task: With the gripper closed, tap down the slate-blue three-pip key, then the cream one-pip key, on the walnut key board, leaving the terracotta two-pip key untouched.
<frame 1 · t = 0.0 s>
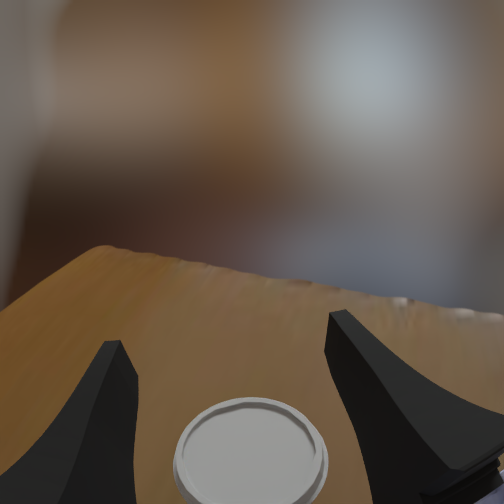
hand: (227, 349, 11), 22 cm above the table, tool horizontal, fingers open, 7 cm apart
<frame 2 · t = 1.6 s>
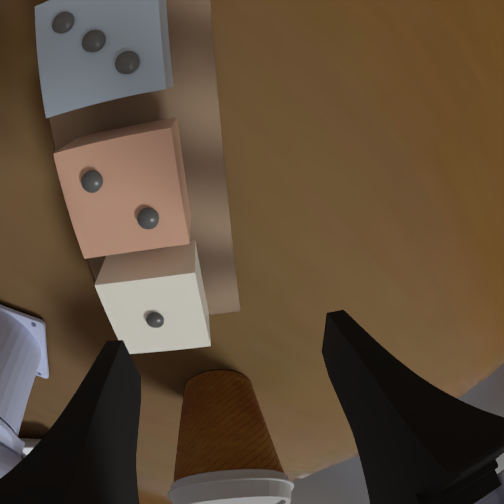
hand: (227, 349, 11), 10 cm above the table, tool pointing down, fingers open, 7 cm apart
key three: (105, 43, 10), point 4 cm above the table, slide at 0.0 cm
key board: (141, 163, 16), on the table
disposable coffee cup: (218, 387, 28), on the table
key one: (157, 301, 17), point 4 cm above the table, slide at 0.0 cm
key two: (127, 187, 13), point 4 cm above the table, slide at 0.0 cm
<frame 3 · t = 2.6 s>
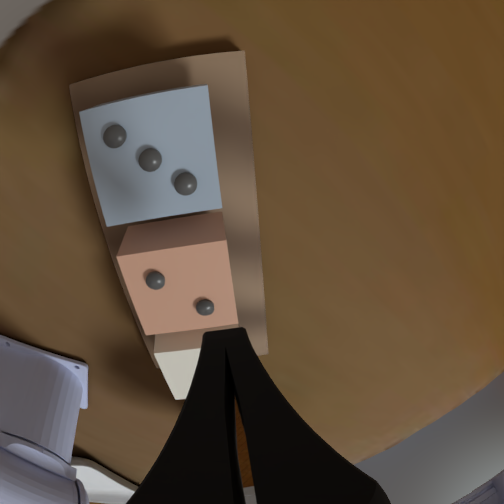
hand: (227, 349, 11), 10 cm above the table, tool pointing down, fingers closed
key three: (155, 150, 13), point 4 cm above the table, slide at 0.0 cm
key board: (184, 239, 19), on the table
salad plate: (81, 471, 40), on the table
disposable coffee cup: (243, 410, 31), on the table
key one: (203, 357, 20), point 4 cm above the table, slide at 0.0 cm
key two: (181, 276, 16), point 4 cm above the table, slide at 0.0 cm
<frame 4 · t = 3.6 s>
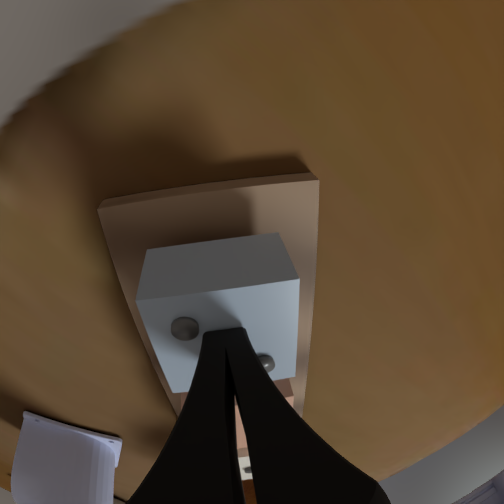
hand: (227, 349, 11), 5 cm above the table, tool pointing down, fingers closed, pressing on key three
key three: (223, 319, 12), point 4 cm above the table, slide at 0.0 cm, touching gripper
key board: (231, 353, 19), on the table
disposable coffee cup: (267, 463, 30), on the table
key one: (248, 451, 19), point 4 cm above the table, slide at 0.0 cm
key two: (238, 406, 15), point 4 cm above the table, slide at 0.0 cm
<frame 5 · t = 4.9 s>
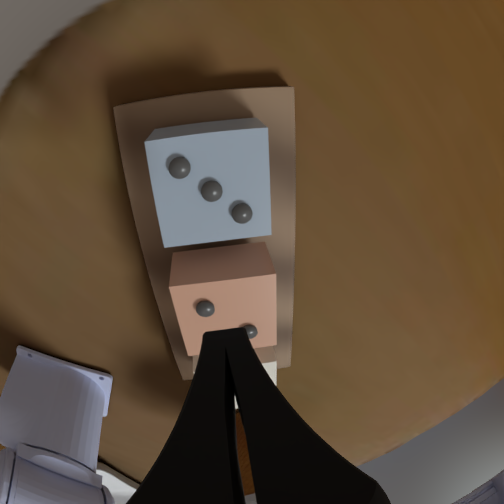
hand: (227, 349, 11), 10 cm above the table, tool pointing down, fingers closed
key three: (210, 179, 15), point 3 cm above the table, slide at 1.0 cm
key board: (221, 262, 20), on the table
salad plate: (89, 473, 40), on the table
disposable coffee cup: (258, 417, 32), on the table
key one: (235, 373, 21), point 4 cm above the table, slide at 0.0 cm
key two: (225, 301, 17), point 4 cm above the table, slide at 0.0 cm
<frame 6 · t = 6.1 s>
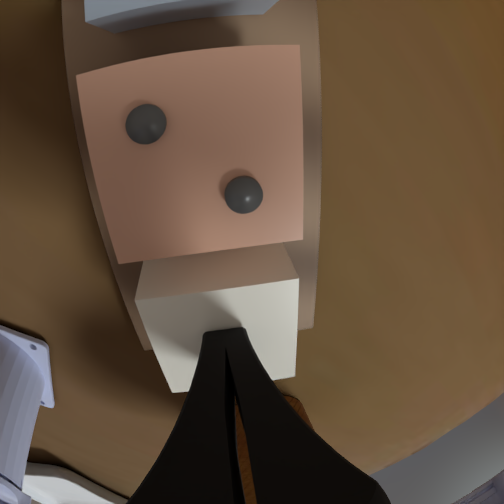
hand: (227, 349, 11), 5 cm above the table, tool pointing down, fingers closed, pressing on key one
key board: (198, 124, 11), on the table
salad plate: (61, 480, 31), on the table
disposable coffee cup: (263, 413, 23), on the table
key one: (222, 319, 12), point 4 cm above the table, slide at 0.3 cm, touching gripper
key two: (196, 145, 8), point 4 cm above the table, slide at 0.0 cm
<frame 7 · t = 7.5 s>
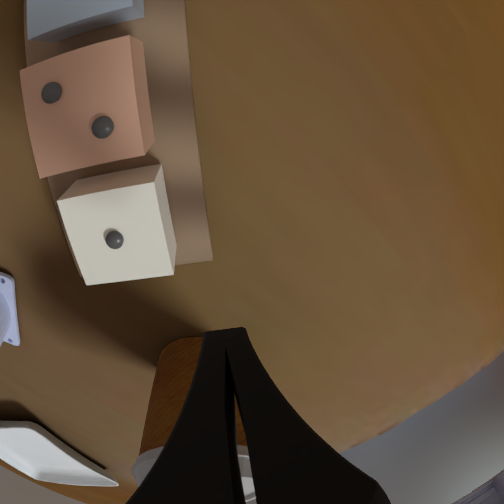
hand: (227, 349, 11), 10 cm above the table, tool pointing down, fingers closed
key board: (110, 97, 15), on the table
salad plate: (36, 443, 35), on the table
disposable coffee cup: (196, 359, 26), on the table
key one: (120, 225, 16), point 3 cm above the table, slide at 1.0 cm
key two: (88, 105, 11), point 4 cm above the table, slide at 0.0 cm
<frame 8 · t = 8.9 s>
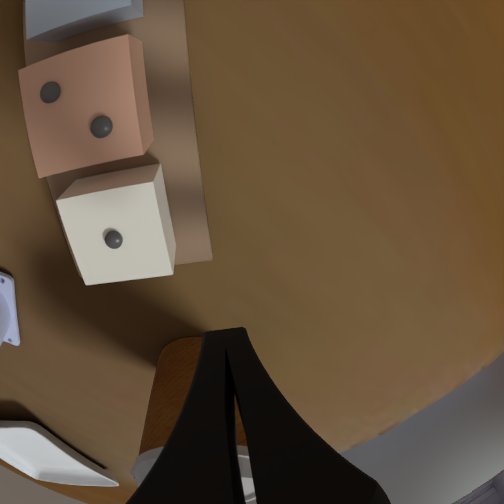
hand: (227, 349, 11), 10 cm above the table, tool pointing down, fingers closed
key board: (109, 97, 15), on the table
salad plate: (36, 443, 35), on the table
disposable coffee cup: (196, 359, 26), on the table
key one: (120, 225, 16), point 3 cm above the table, slide at 1.0 cm
key two: (87, 104, 11), point 4 cm above the table, slide at 0.0 cm
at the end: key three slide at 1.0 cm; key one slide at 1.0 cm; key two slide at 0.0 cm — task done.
